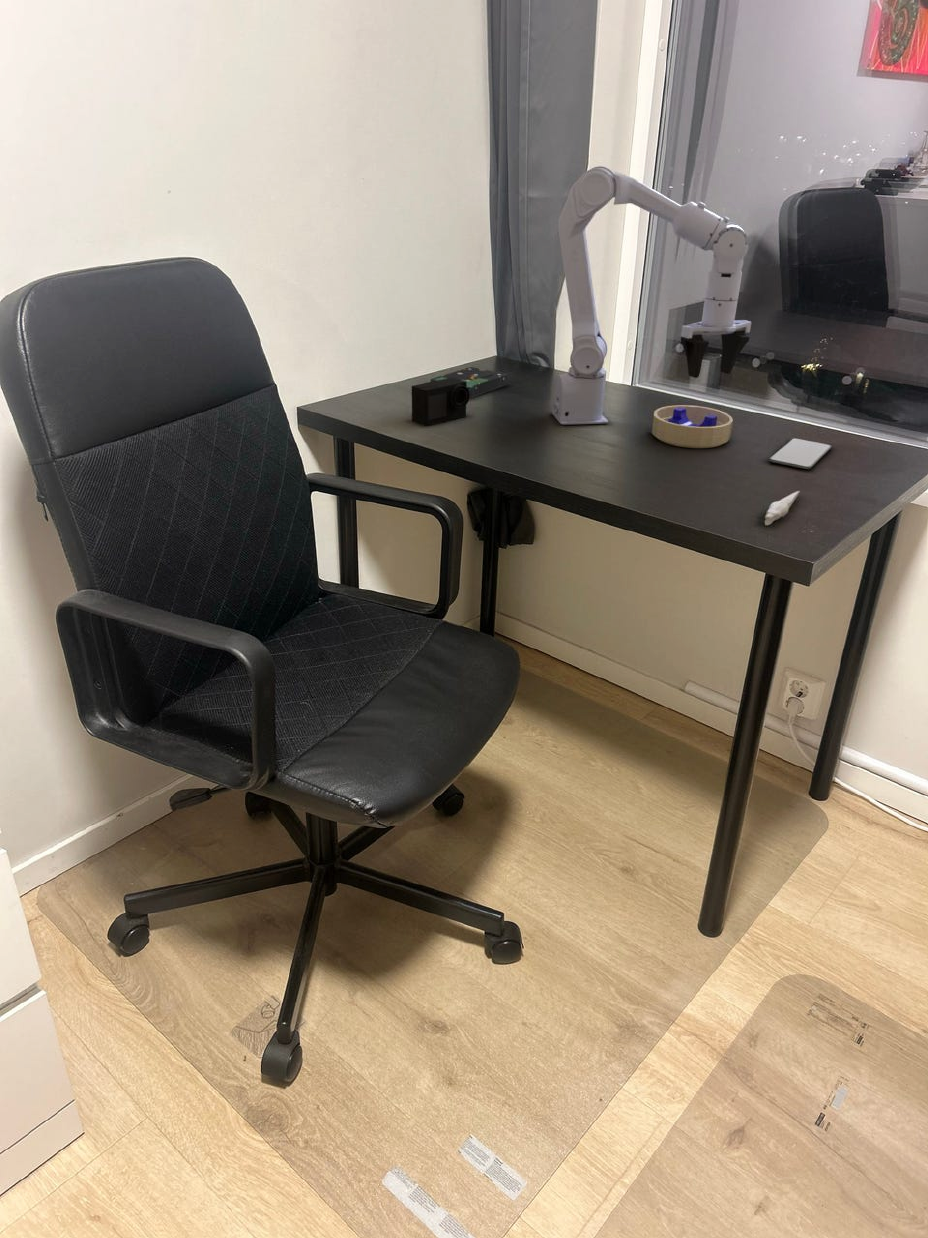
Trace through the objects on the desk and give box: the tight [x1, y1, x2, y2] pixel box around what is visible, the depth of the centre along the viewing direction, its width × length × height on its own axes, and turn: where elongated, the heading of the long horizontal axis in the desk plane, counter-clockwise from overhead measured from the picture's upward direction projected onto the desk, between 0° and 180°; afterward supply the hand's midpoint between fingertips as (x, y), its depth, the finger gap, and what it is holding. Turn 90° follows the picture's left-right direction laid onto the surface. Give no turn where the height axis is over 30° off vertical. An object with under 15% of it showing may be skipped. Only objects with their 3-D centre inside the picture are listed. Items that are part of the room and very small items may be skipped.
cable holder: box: [668, 407, 718, 427], centre depth 163 cm, size 8×4×4 cm, turn 48°
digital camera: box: [411, 378, 470, 427], centre depth 169 cm, size 10×5×7 cm, turn 131°
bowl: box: [651, 404, 734, 449], centre depth 163 cm, size 14×14×4 cm
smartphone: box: [769, 437, 832, 470], centre depth 156 cm, size 7×1×15 cm
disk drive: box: [430, 366, 509, 399], centre depth 190 cm, size 10×3×15 cm
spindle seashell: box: [764, 490, 801, 526], centre depth 133 cm, size 15×3×2 cm, turn 144°
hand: (709, 374), depth 164 cm, fingers open, 7 cm apart
